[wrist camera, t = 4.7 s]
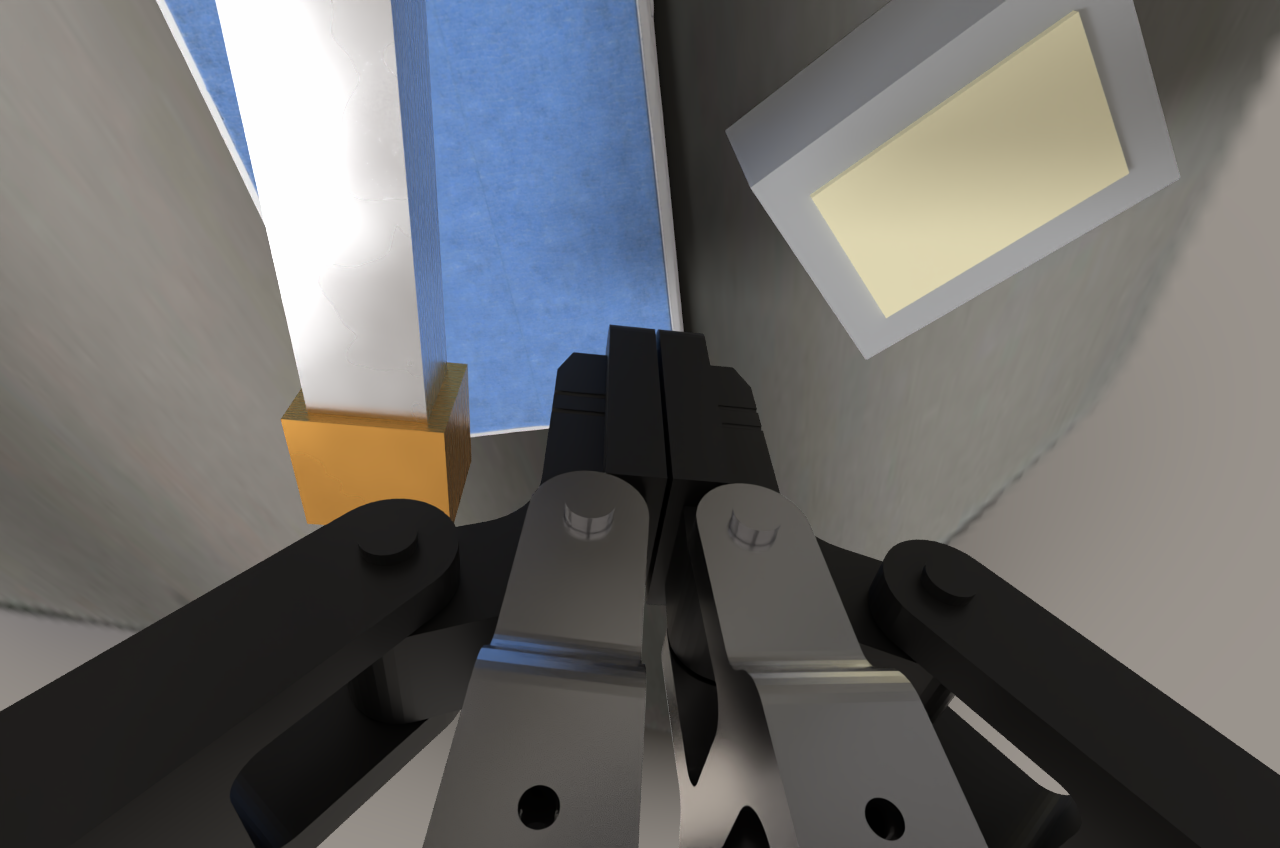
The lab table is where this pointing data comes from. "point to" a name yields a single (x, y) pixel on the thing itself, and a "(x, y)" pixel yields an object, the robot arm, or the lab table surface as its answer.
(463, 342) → the tablet computer
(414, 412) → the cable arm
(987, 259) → the block
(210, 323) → the lab table surface
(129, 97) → the lab table surface
